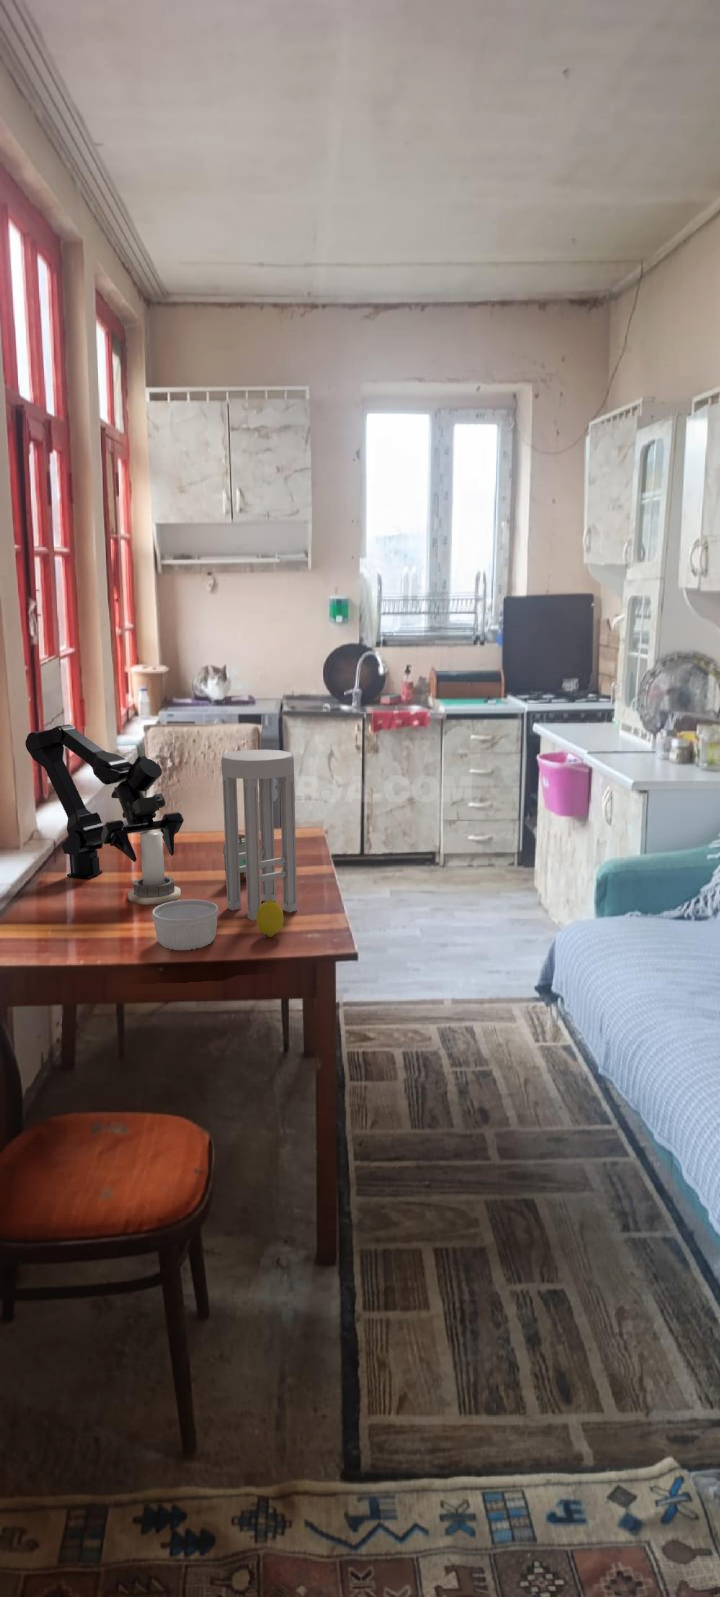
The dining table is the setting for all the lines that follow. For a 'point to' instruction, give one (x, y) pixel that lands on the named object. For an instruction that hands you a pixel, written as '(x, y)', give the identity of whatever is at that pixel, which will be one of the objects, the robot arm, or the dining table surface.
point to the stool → (265, 769)
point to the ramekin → (185, 924)
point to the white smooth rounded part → (152, 858)
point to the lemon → (269, 918)
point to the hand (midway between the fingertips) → (154, 857)
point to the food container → (241, 861)
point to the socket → (154, 892)
